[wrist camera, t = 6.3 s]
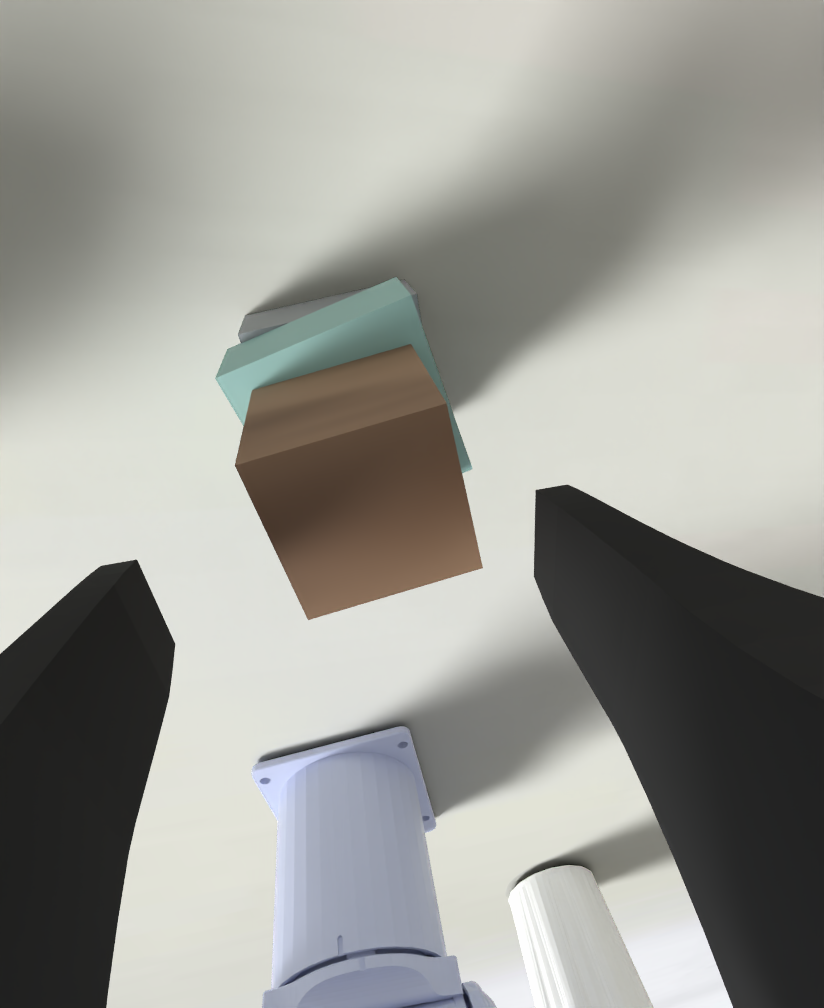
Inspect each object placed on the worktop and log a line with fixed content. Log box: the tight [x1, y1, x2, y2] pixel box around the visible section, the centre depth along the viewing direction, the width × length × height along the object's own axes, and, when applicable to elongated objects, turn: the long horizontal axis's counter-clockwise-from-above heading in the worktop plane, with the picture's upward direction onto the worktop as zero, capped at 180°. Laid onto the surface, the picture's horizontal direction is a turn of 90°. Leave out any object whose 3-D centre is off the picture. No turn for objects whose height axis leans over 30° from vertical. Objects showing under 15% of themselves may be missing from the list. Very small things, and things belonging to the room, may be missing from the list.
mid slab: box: [215, 277, 472, 473], centre depth 15 cm, size 5×5×2 cm
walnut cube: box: [235, 344, 483, 620], centre depth 13 cm, size 4×4×4 cm
